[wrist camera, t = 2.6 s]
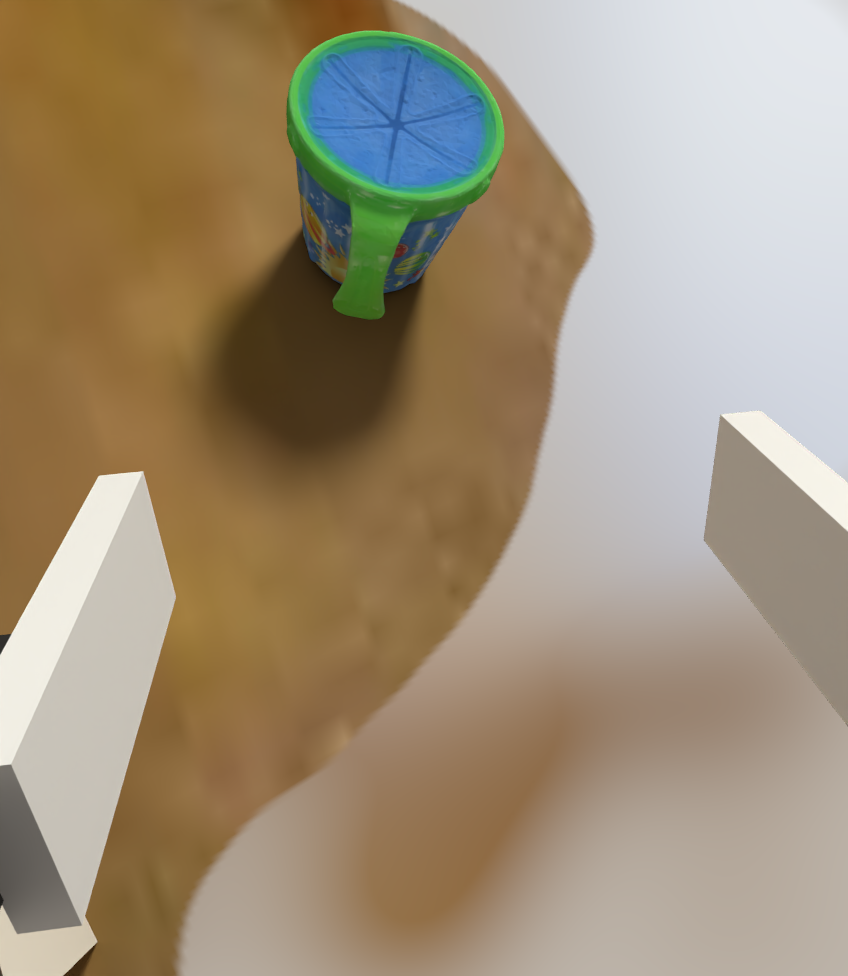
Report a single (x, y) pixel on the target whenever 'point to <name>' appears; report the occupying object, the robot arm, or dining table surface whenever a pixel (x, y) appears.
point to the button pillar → (42, 949)
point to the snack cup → (386, 158)
